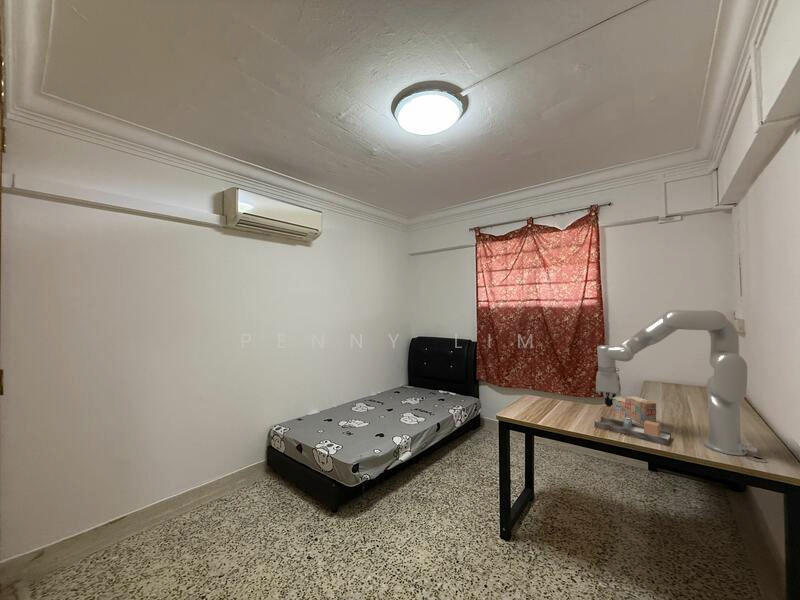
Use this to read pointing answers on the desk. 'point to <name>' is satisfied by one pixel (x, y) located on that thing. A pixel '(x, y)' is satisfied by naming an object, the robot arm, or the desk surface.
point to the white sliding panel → (629, 426)
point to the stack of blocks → (635, 409)
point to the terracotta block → (651, 428)
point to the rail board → (619, 428)
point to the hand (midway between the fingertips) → (609, 405)
